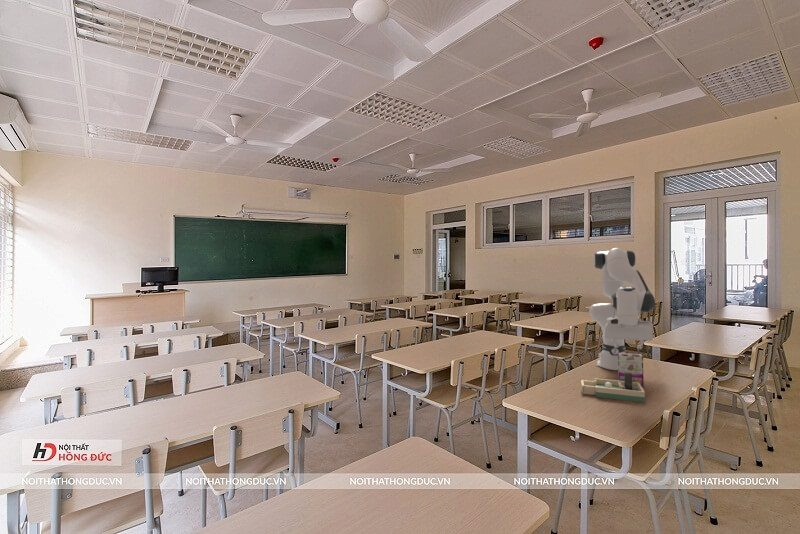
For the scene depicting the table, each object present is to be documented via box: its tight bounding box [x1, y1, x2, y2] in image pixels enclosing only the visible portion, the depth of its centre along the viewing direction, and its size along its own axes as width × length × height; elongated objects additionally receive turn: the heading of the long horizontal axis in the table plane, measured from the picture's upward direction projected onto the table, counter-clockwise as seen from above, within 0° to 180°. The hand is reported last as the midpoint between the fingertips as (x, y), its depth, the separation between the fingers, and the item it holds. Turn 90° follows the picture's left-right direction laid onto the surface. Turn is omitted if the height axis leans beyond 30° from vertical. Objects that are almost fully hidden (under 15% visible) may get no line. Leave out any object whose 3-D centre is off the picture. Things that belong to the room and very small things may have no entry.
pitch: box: [580, 377, 646, 403], centre depth 180 cm, size 14×26×5 cm, turn 66°
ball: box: [605, 382, 612, 388], centre depth 181 cm, size 3×3×3 cm
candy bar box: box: [617, 352, 645, 388], centre depth 192 cm, size 11×5×16 cm, turn 62°
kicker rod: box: [618, 373, 632, 390], centre depth 178 cm, size 5×6×8 cm
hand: (627, 348), depth 177 cm, fingers open, 8 cm apart
